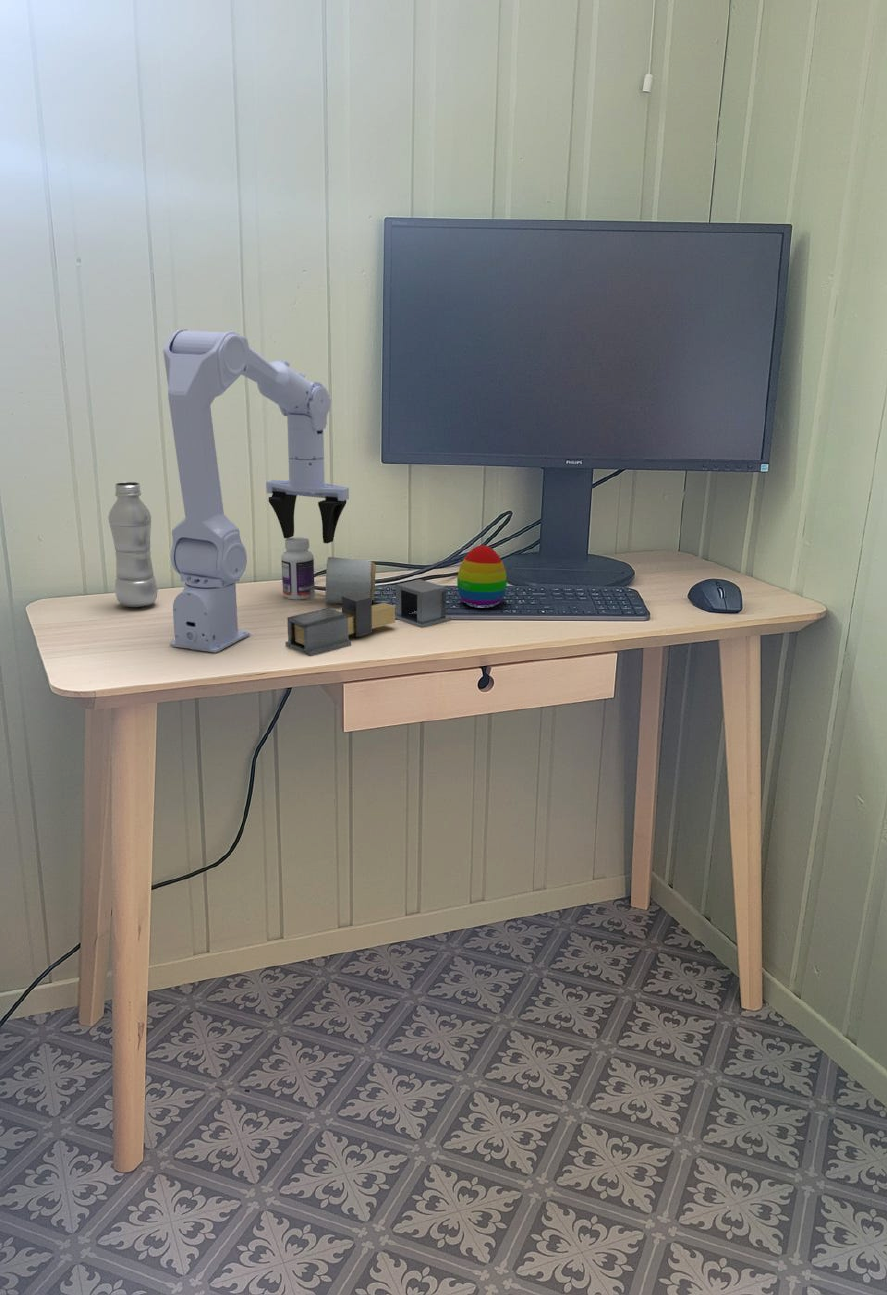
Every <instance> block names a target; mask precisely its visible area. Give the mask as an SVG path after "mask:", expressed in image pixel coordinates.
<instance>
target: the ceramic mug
mask: <svg viewBox="0 0 887 1295" xmlns="http://www.w3.org/2000/svg"><path fill="white" fill-rule="evenodd" d="M325 572H326V573H325V603H326V604H328V605H330V604H331V605H333V604H334V605H335V604H338V605H339V604H340V605H342V596H346V595H350V594H355V593H359V594H362V595H365V596H368V597H371V598H372V599H374V600H375V596H374V592H375V591H376V564H375V562H373V561H370V560H366V559H359V558H358V559H355V558H346V557H343V558H342V557H334V556H328V557H327V561H326V571H325Z"/></svg>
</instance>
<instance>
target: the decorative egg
mask: <svg viewBox="0 0 887 1295" xmlns="http://www.w3.org/2000/svg"><path fill="white" fill-rule="evenodd" d="M462 559H463V560H462V561H461V563H460V566H459V568H458V571H457V572H458V573H457V581H456V583H457V584H456V585H457V590H458V594H459V597H460V600H463V601H465V602H468V603H472V604H476V605H489V604H495V603H498V602H500V601H501V602H502V600H503V598H504V596H505V594H506V590H507V582H508V581H507V578H508V577H507V571H506V568H505V565H504V562H503V561H502V558H501V557H500V555H499V554H498V553H497V552H496V551H495V550H494V549H493V548H491V547H490V546H488V545H483V544H480V545H477V546H475V547H473V548H472V549H471V550H470V551H468V553H467V554H466V555H465V556H464V558H462ZM463 601H462V602H463ZM501 602H500V603H501Z"/></svg>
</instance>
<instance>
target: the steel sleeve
mask: <svg viewBox="0 0 887 1295" xmlns="http://www.w3.org/2000/svg"><path fill="white" fill-rule="evenodd" d="M286 620H287V641H285V642H284V643H285V647H288V648H290V649H293V650H296V651H298V652H300V653H302V654H305V655H307V656H310V657H311V656H312V657H313V656H314V655H319V654H322V653H326V652H330V651H333V650H338V649H341V648H345V647H349V646H352V640H350V639H349V635H348V614H345V613H342V611H338V610H337V609H333V608H330V607H326V608H322V609H318V610H313V611H309V612H304V613H301V614H297V615H293V616H292V615H291V616H288V617H287V618H286ZM294 624H297V625H300V626H303V627H304V643H305V645H303V644H300V643H298V642H295V625H294Z"/></svg>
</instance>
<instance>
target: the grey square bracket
mask: <svg viewBox="0 0 887 1295" xmlns="http://www.w3.org/2000/svg"><path fill="white" fill-rule="evenodd" d="M446 607H447V586H444V585H440V584H437V583H434V582H431V581H427V580H423V579H415V580H411V581H406V582H402V583H398V584H395V613H396V614H397V615H395V620H399V621H401V622H404V623H408V624H410V625H413V626H417V627H419V628H426V627H430V626H433V625H436V624H441V623H444V622H448V621H451V616H449V615H446V614H447V613H446V612H447V608H446ZM414 611H417V614H409V613H412V612H414Z"/></svg>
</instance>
